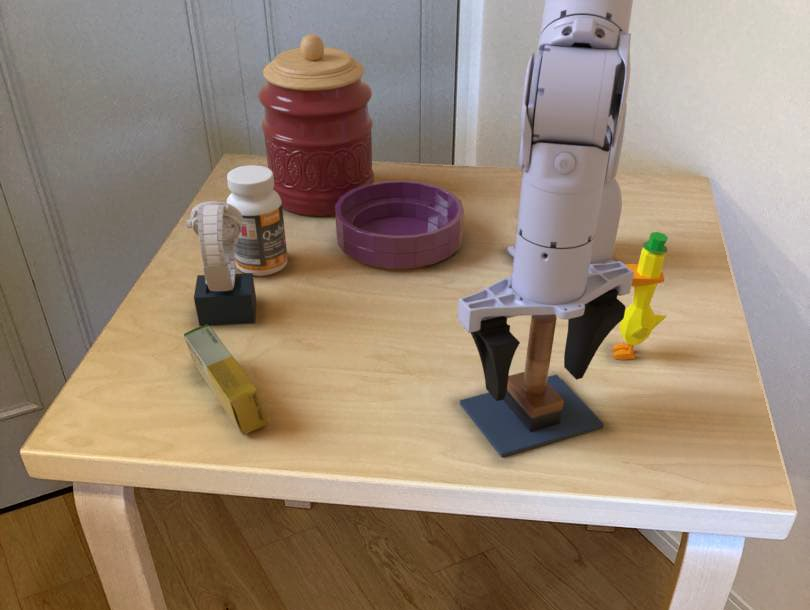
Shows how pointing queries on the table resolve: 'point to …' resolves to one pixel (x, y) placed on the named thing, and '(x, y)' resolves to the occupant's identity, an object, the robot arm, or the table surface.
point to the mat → (513, 434)
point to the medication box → (226, 379)
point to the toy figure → (642, 297)
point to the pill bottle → (258, 221)
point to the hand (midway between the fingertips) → (534, 383)
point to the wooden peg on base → (536, 380)
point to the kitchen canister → (316, 126)
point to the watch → (221, 267)
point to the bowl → (399, 224)
